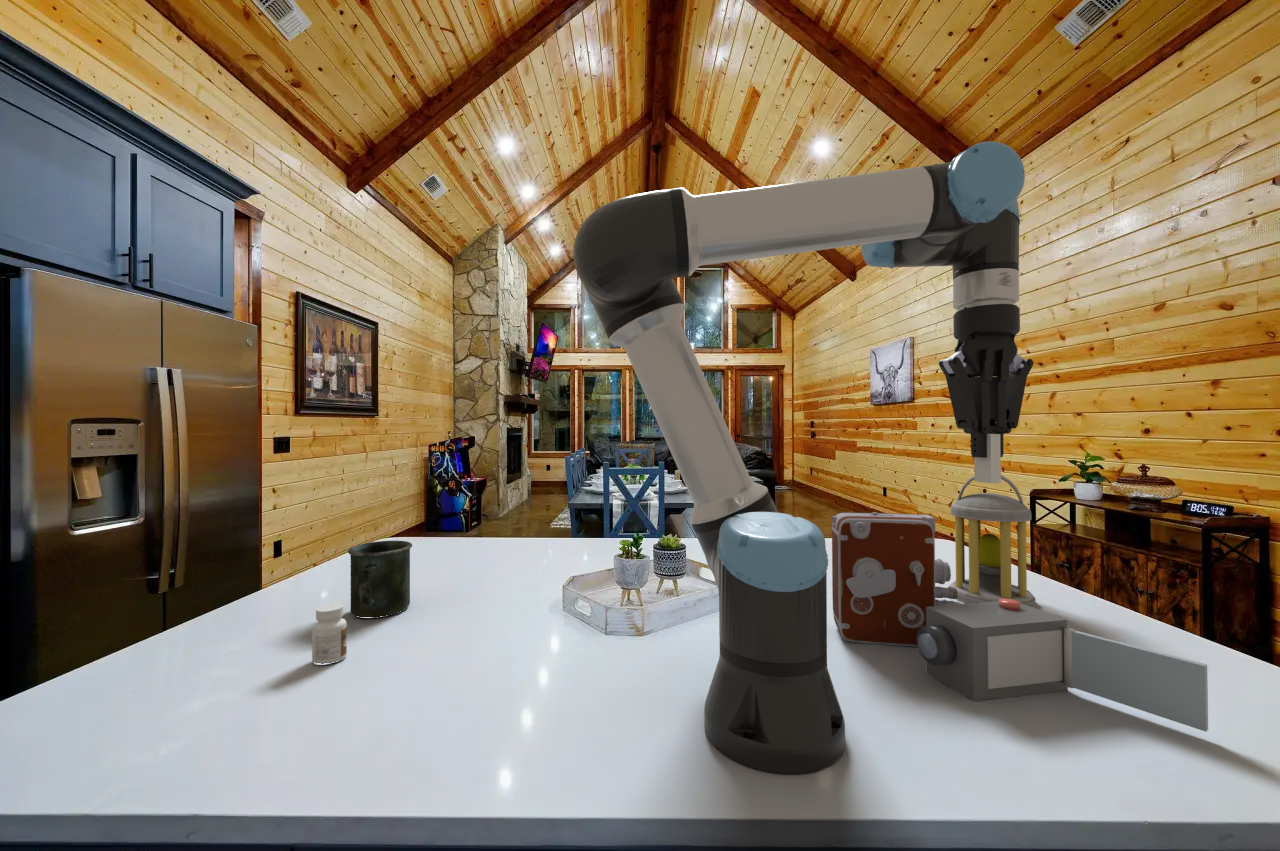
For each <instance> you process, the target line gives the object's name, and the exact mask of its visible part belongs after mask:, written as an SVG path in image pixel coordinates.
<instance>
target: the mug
mask: <svg viewBox="0 0 1280 851" xmlns="http://www.w3.org/2000/svg"><path fill="white" fill-rule="evenodd" d="M411 548H413V544H412V542H410V541H407V540H381V541H380V540H379V541H372V542H367V543H361V544H356V545H354V546H352V547H351V548H349V549H348V550H347V553H348V554H349V555H350V613H351V615H352V616H353V615H355V616H359V617H380V616H386V615H391V614H394V615H396V614H395V613H397V614H399V613H398V612H400V611H402V612H404V611H405V610H407V609H408V607H410V604H411V562H410V561H411V557H410V556H411ZM406 608H407V609H406ZM404 609H405V610H404ZM403 610H404V611H403ZM400 613H401V612H400ZM355 616H354V617H355ZM391 616H392V615H391ZM386 617H387V616H386Z"/></svg>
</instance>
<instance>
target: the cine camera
mask: <svg viewBox="0 0 1280 851" xmlns="http://www.w3.org/2000/svg"><path fill="white" fill-rule="evenodd" d="M831 518H832V519H831V520H832V525H831V526H832V527H831V557H832V558H831V564H832V565H831V566H832V567H831V568H832V570H831V571H832V573H831V575H832V579H831V580H832V581H831V583H832V592H831V593H832V611H833V612H832V613H833V619H834V622H835V626H836V628H837V629H838V633H839V634H840V636H841V638H842V639H843V640H845V641H847V642H850V643H858V644H859V643H860V644H873V645H885V646H902V647H915V648H916V647H917V648H918V645H917V632H918V630H919V629H920V628H921V627H923V626H926V607H929V606H942V605H955V604H965V603H963V602H961V601H953V600H956V599H957V597H958V592H957V589H956V588H955V587H949V586H947V587H943V586H936V584H939V585H945V583H946V582H947V583H948V582H950V581H951V578H952V573H951V572H952V571H951V570H952V569H951V566H950V564H949V562H946V561H944V560H943V559H941V558H937V559H936V551H935V550H936V546H935V545H936V543H935V534H936V517H933V516H931V515H929V514H911V513H910V514H909V513H888V512H887V513H885V512H884V513H882V512H881V513H878V512H876V511H872V512H840V513H837V514H836V515H832V517H831ZM939 599H941V600H939ZM948 599H950V600H948Z"/></svg>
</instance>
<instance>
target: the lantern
mask: <svg viewBox="0 0 1280 851" xmlns="http://www.w3.org/2000/svg"><path fill="white" fill-rule="evenodd" d="M973 481H975V475H973V476H971V477H970V478H968V480H966V482H964V483H963V485H962V486H961V488H960V491H959V493H958V494H957V500H956V501H954V502H953V503H952V504H951V506H950V514H951V515H952V516H954V522H955V523H954V525H955V526H954V528H955V530H954V532H955V533H954V534H955V538H954V540H955V543H954V544H955V580H954V581H953V582H951V583H950V584H949V586H948V587H955V588H956V589H957V592H958V597H957V601H958V602H961V603H963V602H964V604H968V603H981V602H993V601H999V599H1012V600H1016V601H1018V602H1020V603H1022V604H1024V605H1027V606H1030V607H1033V608H1036V605H1037V601H1036V597H1035V596H1034V594H1033V593H1032V591H1030V590H1028V589H1027V588H1028V584H1027V583H1028V582H1027V581H1028V580H1027V579H1028V578H1027V572H1028V571H1027V522H1030V521H1031V520H1032V519H1033V518H1032V511H1031V509H1030V508H1029V507H1027V506H1026V505H1025V504H1024V499H1023V497H1022V494H1021V493H1020V491H1019V489H1018V487H1017V486H1016V485H1015V484H1014V483H1013V482H1012V480H1010V479H1009V478H1007V477H1006V476H1004V475H1002V474H1001V481H1004V482H1005V483H1007V484H1008V485H1009V486H1010V487H1011V488H1012V489H1013V491H1014V492H1015V494H1016V496H1017V498H1018V500H1017V499H1016V498H1013V497H1010V496H1007V495H1003V494H999V493H989V492H983V493H982V492H981V493H980V492H979V493H972V494H968V495H965V496H963V493H964V491H965V489H966V488H967V487H968V486H969V485H970V484H971V482H973ZM962 496H963V497H962ZM965 519H966V520H968V524H967V525H968V578H965V577H966V576H965V574H966V573H965V572H966V568H965V567H966V566H965V565H966V564H965V563H966V562H965V560H966V558H965ZM981 521H985V522H996V523H997V522H999V533H1000V534H999V537H998V536H997V535H995V534H993V533H985V534H982V533H981ZM1012 523H1017V536H1016V537H1017V585H1015V584H1012V531H1011V530H1012V529H1011V528H1012V527H1011V526H1012ZM981 534H982V535H981Z"/></svg>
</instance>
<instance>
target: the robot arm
mask: <svg viewBox="0 0 1280 851" xmlns="http://www.w3.org/2000/svg"><path fill="white" fill-rule="evenodd" d="M1025 171H1026V170H1025V167H1024V162H1023V161H1022V158H1021V157H1020V155H1019V154H1018V153H1017V151H1015V150H1014V149H1013V147H1010V146H1009V145H1007V144H1005V143H1003V142H999V141H998V142H997V141H990V140H988V141H982V142H978V143H976V144H973V145H972V146H970V147H968V148H967V149H966V150H964V151H961V152H959V154H957V155H955V157H954V158H953V159H952V160H951V161H948V162H945V163H938V164H937V163H936V164H930V165H925V166H924V165H922V166H917V167H908V168H901V169H893V170H885V171H876V172H870V173H862V174H861V173H860V174H854V175H853V174H852V175H845V176H838V177H831V178H823V179H814V180H808V181H800V182H793V183H792V182H791V183H784V184H775V185H768V186H761V187H752V188H746V189H745V188H744V189H738V190H730V191H729V190H728V191H721V192H715V193H714V192H713V193H708V194H707V193H706V194H699V195H693V194H691V193H690V192H689V191H688V190H687V189H685V187H676V188H668V189H661V190H653V191H648V192H642V193H637V194H633V195H632V194H631V195H629V196H624V197H620V198H617V199H615V200H612V201H610V202H608V203H605V204H604V205H601V206H600V207H598V208H597V209H595V210H594V211H593V212H592V213H591V214H589V215H588V217H586V219H585V220H584V221H583V222H582V224H581V225H580V227H579V229H578V230H577V233H576V236H575V239H574V244H573V251H572V252H573V256H572V257H573V262H574V268H575V270H576V274H577V276H578V278H579V279H580V281H581V283H582V285H583V286H584V289H585V290H586V293H587V295H588V298H589V301H590V303H591V305H592V306H593V308H594V310H595V312H596V314H597V317H598V319H599V322H600V324H601V325H602V328H603V330H604V333H605V335H606V337H607V340H608V341H609V343H610V344H612V345H615V346H617V347H619V348H622V349H624V351H625V352H626V355H627V357H628V360H629V362H630V363H631V364H630V365H631V366H632V368H633V371H634V373H635V375H636V377H637V380H638V382H639V384H640V386H641V389H642V391H643V394H644V395H645V398H646V400H647V402H648V404H649V406H650V409H651V412H652V413H653V416H654V418H655V420H656V422H657V425H658V426H659V429H660V431H661V434H662V436H663V437H664V439H665V443H666V445H667V447H668V450H669V451H670V454H671V456H672V458H673V461H674V462H675V465H676V468H677V469H678V472H679V474H680V476H681V478H682V480H683V483H684V485H685V487H686V489H687V492H688V494H689V496H690V497H691V498H690V499H691V501H692V502H693V509H692V511H691V514H690V517H689V523H690V525H691V527H692V529H693V531H694V534H695V537H696V538H697V540H698V543H699V545H700V547H701V550H702V552H703V554H704V557H705V560H706V563H707V565H708V567H709V570H710V571H711V572H712V575H713V579H714V581H715V584H716V587H717V589H718V602H719V603H718V604H719V606H718V607H719V609H718V610H719V612H718V614H719V615H718V617H719V621H718V622H719V623H718V624H719V625H718V627H719V632H718V633H719V637H718V638H719V657H718V661H717V664H716V667H715V671H714V673H713V676H712V680H711V683H710V686H709V689H708V692H707V695H706V699H705V702H704V707H703V708H704V713H703V714H704V731H705V733H706V737H707V738H708V739H709V741H710V742H711V743H712V745H713V746H714V747H715V748H717V749H718V750H719V752H721V753H722V754H723V755H725V756H726V757H728V758H730V759H732V760H734V761H735V762H738V763H740V764H742V765H745V766H748V767H749V768H750V767H751V768H754V769H757V770H761V771H766V772H772V773H776V774H777V773H778V774H802V773H803V774H804V773H811V772H815V771H818V770H822V769H824V768H827V767H829V766H831V765H832V764H834V763H835V762H837V761H838V760H839V759H840V758H841V756H842V755H843V753H844V751H845V747H846V724H845V718H844V715H843V711H842V708H841V705H840V702H839V698H838V695H837V692H836V690H835V688H834V684H833V681H832V678H831V675H830V672H829V670H828V650H827V649H828V636H827V633H828V624H827V623H828V621H827V619H828V618H827V616H828V614H827V612H828V610H827V609H828V606H827V605H828V604H827V602H828V601H827V599H828V598H827V595H828V594H827V593H828V592H827V588H828V585H827V579H828V578H827V575H828V574H827V570H828V566H829V559H828V553H827V552H828V551H827V548H826V538H825V536H824V534H823V532H822V530H821V529H820V528H819V526H817V525H816V524H815V523H813V521H812V522H811V521H810V520H808V519H805V518H803V517H799V516H797V517H796V516H794V515H792V514H788V513H785V512H784V513H783V512H779V511H778V509H777V506H776V505H775V502H774V500H773V498H772V496H771V494H770V491H769V489H768V487H767V486H765V485H763V484H760V483H758V482H755V481H754V480H753V479H751V476H750V474H749V472H748V469H747V468H746V465H745V462H744V461H743V458H742V456H741V454H740V452H739V450H738V448H737V445H736V443H735V441H734V438H733V436H732V435H731V432H730V430H729V427H728V426H727V424H726V420H725V419H724V417H723V414H722V412H721V410H720V407H719V405H718V403H717V401H716V399H715V397H714V394H713V392H712V389H711V388H710V385H709V383H708V381H707V379H706V376H705V374H704V372H703V370H702V368H701V365H700V363H699V361H698V359H697V357H696V354H695V352H694V349H693V348H692V345H691V343H690V341H689V338H688V337H687V334H686V332H685V330H684V328H683V326H682V320H683V317H684V313H685V311H686V305H685V303H684V301H683V299H682V296H681V294H680V292H679V289H678V287H677V285H676V283H675V281H674V279H677V278H685V277H686V278H687V277H690V276H692V275H693V273H694V272H695V271H696V270H697V269H698V268H699V267H700V266H707V265H716V264H724V263H731V262H739V261H746V260H747V261H748V260H753V259H754V260H755V259H762V258H768V257H770V258H771V257H776V256H783V255H784V256H785V255H792V254H799V253H800V254H802V253H808V252H817V251H824V250H829V249H838V248H839V249H840V248H847V247H854V246H861V247H860V248H861V255H862V258H863V260H864V262H865V264H866V265H868V266H870V267H875V268H876V267H877V268H889V269H894V268H912V267H913V268H915V267H917V268H918V267H923V268H924V267H950V266H951V268H952V308H953V309H955V310H956V311H955V313H954V314H953V324H952V325H953V338H954V339H955V340H957V342H956V345H955V348H954V353H953V354H952V355H950V356H949V357H947V358H941V359H940V360H939V362H938V365H939V367H940V369H941V371H942V373H943V375H944V376H945V379H946V385H947V389H948V393H949V397H950V401H951V403H950V404H951V407H952V411H953V416H954V419H955V420H954V421H955V425H956V428H957V429H959V430H963V432H964V433H965V434H969V435H970V454H971V457H972V458H973V459H974V476H975V480H974V482H978V483H986V484H1001V483H1002V479H1001V475H1002V473H1001V470H1002V469H1001V465H1002V464H1001V458H1003V457H1004V454H1005V453H1004V436H1005V434H1006V435H1007V434H1010V433H1011V432H1012V430H1013V429H1017V427H1018V425H1019V420H1020V416H1021V410H1022V405H1023V399H1024V395H1025V390H1026V385H1027V379H1028V375H1030V372H1031V370H1032V368H1033V367H1034V361H1033V359H1032V358H1026V359H1024V358H1023V357H1022V356H1021V355H1019V354H1018V347H1017V344H1016V341H1015V338H1016V336H1017V334H1018V333H1019V332H1021V331H1020V330H1021V313H1020V312H1021V308H1020V307H1019V306H1018V305H1016V303H1018V302H1019V301H1020V224H1021V218H1020V213H1019V212H1020V211H1019V202H1018V197H1019V196H1020V195H1021V192H1022V191H1023V188H1024V185H1025V180H1026V177H1025V176H1026V175H1025V174H1026V172H1025Z"/></svg>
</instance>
